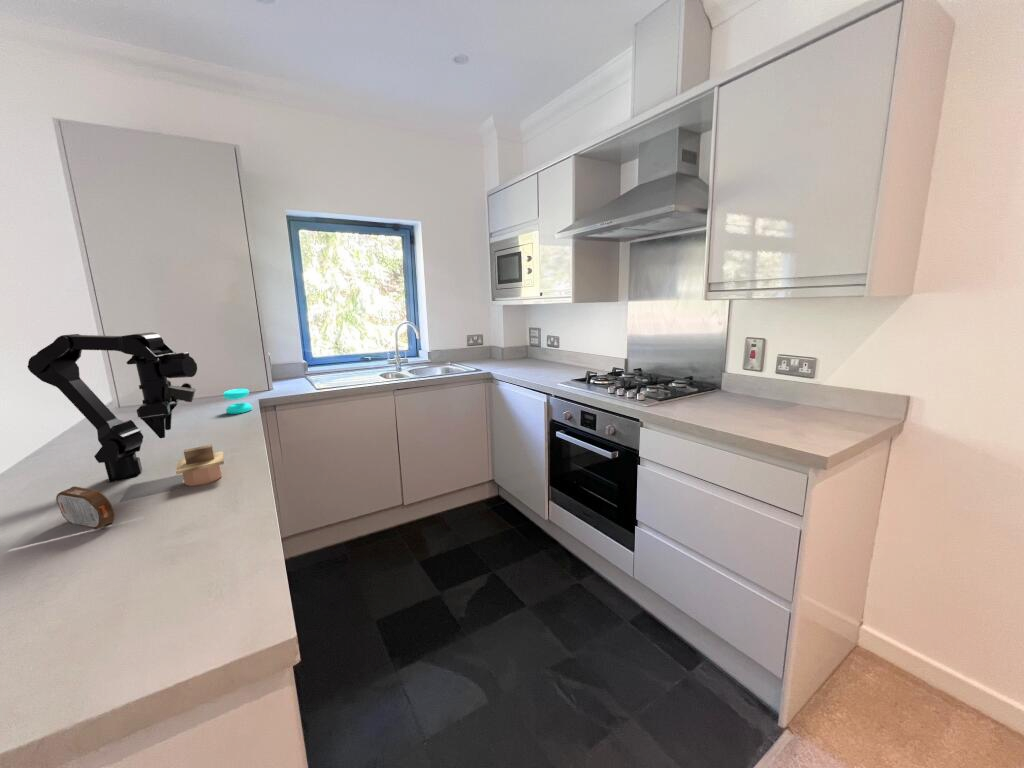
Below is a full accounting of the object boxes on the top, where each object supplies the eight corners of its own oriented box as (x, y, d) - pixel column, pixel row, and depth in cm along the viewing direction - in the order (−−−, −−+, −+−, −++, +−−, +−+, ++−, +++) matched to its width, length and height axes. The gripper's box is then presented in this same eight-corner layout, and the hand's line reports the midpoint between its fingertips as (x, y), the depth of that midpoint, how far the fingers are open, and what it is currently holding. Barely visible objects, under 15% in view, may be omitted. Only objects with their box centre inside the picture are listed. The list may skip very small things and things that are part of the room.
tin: (119, 525, 93) (110, 489, 91) (102, 533, 90) (91, 496, 88) (78, 517, 98) (68, 483, 96) (60, 524, 95) (49, 489, 93)
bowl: (184, 490, 109) (180, 472, 108) (188, 480, 116) (184, 462, 115) (221, 482, 113) (217, 464, 112) (223, 472, 120) (219, 455, 119)
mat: (119, 503, 104) (118, 502, 103) (130, 486, 114) (130, 485, 114) (180, 489, 110) (179, 488, 109) (186, 474, 120) (185, 473, 120)
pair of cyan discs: (237, 392, 185) (216, 393, 186) (241, 414, 187) (221, 415, 188) (253, 387, 194) (234, 388, 196) (257, 408, 196) (238, 409, 198)
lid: (176, 474, 107) (172, 458, 106) (179, 463, 115) (176, 448, 114) (223, 463, 112) (220, 448, 111) (223, 453, 121) (220, 439, 120)
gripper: (185, 379, 112) (196, 436, 115) (193, 371, 128) (204, 421, 131) (130, 386, 106) (144, 445, 109) (146, 376, 122) (158, 428, 125)
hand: (165, 433), depth 119 cm, fingers open, 9 cm apart
